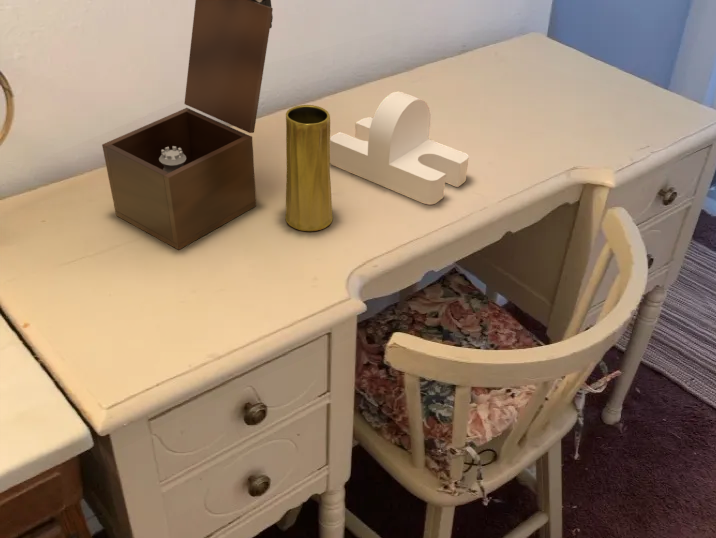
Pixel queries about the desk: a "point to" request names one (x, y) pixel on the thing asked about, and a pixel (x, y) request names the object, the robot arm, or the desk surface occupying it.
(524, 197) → the desk surface
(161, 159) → the rook chess piece
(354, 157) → the u-slot stand
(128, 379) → the desk surface
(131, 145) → the chest
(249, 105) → the lid
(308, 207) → the vase
